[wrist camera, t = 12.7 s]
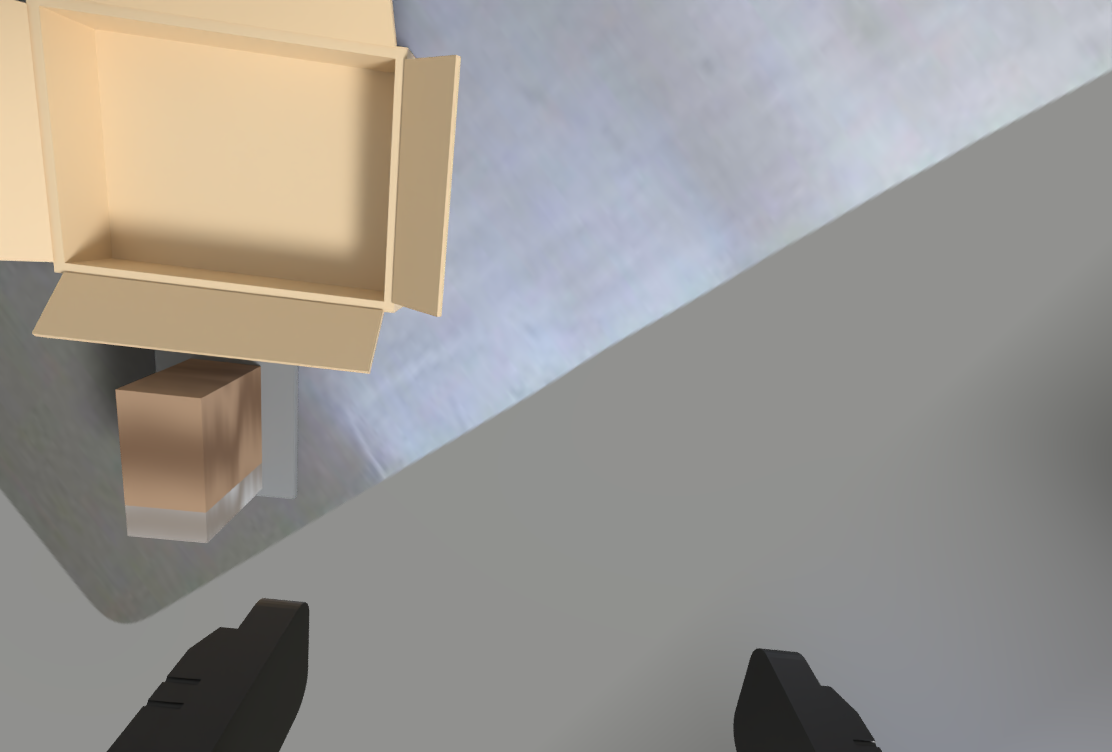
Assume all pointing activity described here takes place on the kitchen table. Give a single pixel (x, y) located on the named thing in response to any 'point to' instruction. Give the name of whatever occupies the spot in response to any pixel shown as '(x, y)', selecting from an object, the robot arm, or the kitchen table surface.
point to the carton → (225, 173)
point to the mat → (266, 419)
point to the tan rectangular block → (190, 448)
